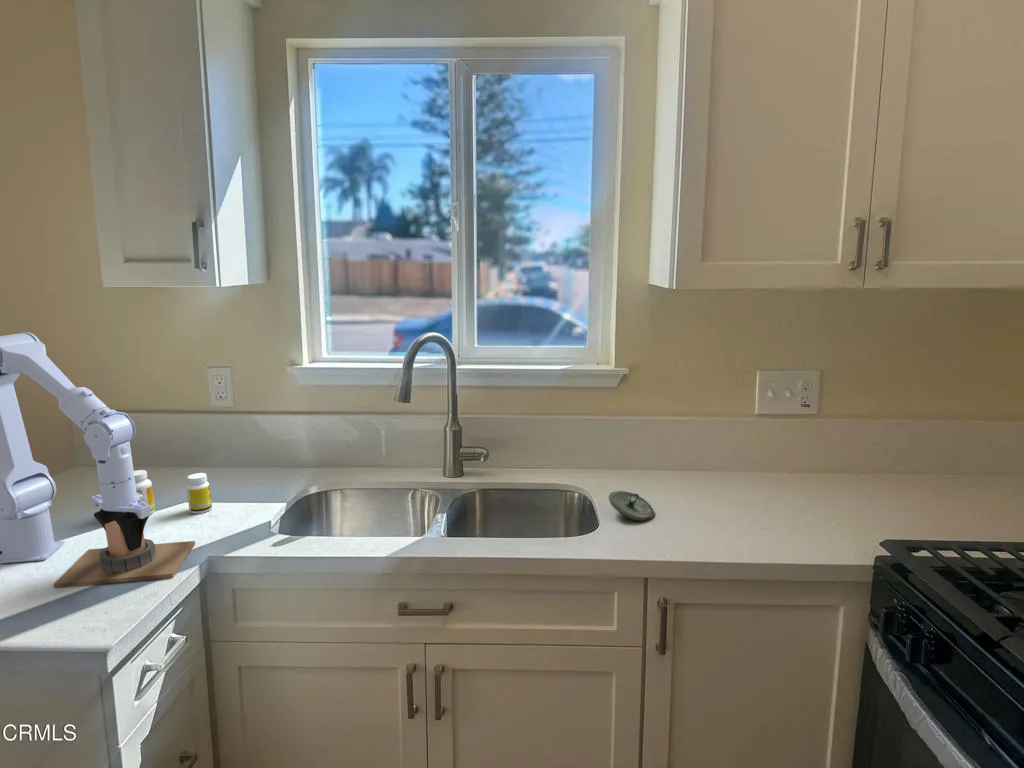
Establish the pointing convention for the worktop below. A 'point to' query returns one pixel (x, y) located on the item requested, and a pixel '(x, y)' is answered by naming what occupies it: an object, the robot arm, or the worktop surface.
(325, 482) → the worktop surface
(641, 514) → the lid
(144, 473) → the supplement bottle
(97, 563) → the collar board
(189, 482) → the supplement bottle
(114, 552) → the peg block
